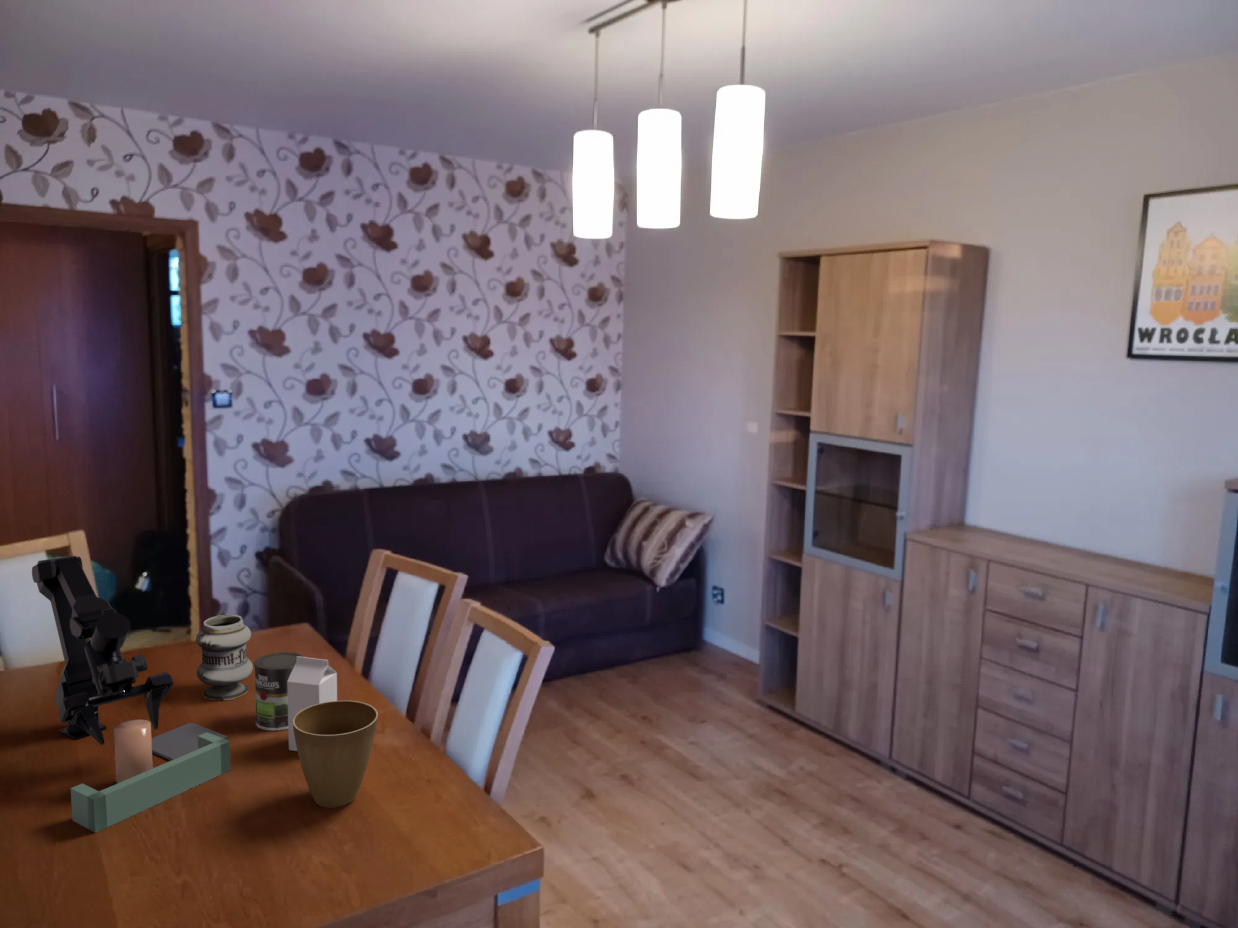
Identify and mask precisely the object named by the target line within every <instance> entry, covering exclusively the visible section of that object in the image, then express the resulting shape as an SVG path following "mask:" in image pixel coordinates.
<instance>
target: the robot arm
mask: <svg viewBox="0 0 1238 928" xmlns="http://www.w3.org/2000/svg"><path fill="white" fill-rule="evenodd" d="M31 576H32V577H31V578H32V580H33V583H36V584H37V585H36V586H37V589H38V592H39V593H40V594H41V595H42V596H43V597H45V598H46V599H47V600H48V601H49V602H50V604H51V608H52V612H53V617H54V621H55V626H56V630H57V635H58V638H59V644H60V647H61V652H62V655H63V659H64V664H65V665H64V667H63V669H62V671H61V674H60V677H59V683H58V686H57V688H56V691H55V693H54V699H55V705H56V706H57V708H58V717H59V720H60V723H64V724H66V727H63V728H61V729H59V732H60V733H61V734H63V735H65V736H68V737H69V738H72V739H74V740H79V739H81V738H83V737H86V736H89V735H90V736H91V737H92V738H93V739H94V740H95V741H96V742H97V743H98V744H99V745H100V746H104V745H105V743H106V742H105V737H104V734H103V730H105V729H107V727H108V726H107V725H106V724H103V723H101V722H100V714H99V713H100V712H99V706H104V705H107V704H108V705H109V704H112V703H116V702H120V701H122V700H123V701H124V700H127V699H130V698H131V699H132V698H135V697H138V696H139V697H140V696H142V695H144V698H145V699H146V702H145V707H146V710H147V712H148V717H149V720H150V723H151V727H153V730H154V731H156V730H158V728H159V720H160V719H159V718H160V717H159V715H160V704H161V702H162V701H163V699H164V698H165V697H166V696H168V695H169V693H170V691H171V689H172V687H173V685H174V684H175V682H174V678H173V676H172V675H171V674H170V673H168V672H160V673H158V674H154V675H149V676H148V677H147V678H146V681H145V683H143V684H139V685H136V686H133V684H135V683H136V682H137V679H136V678H137V677H140V675H139V673H141V672H145V671H147V670H148V663H147V659H146V656H145V654H144V653H143V654H137V655H134V656H132V657H131V659H130V660H129V661H128V660H127V659H126V658H124V657H123V653H122V650H121V649H122V648H123V647H124V644H125V642H126V640H127V637H128V635H129V632H130V631H131V627H132V625H131V620H130V619H129V618H128V617H127V616H125V614H122V613H120V612H119V613H118V612H117V611H116V610H115V608H114V607H112V606H111V604H110V603H109V601H107V600H106V599H103V598H100V597H98V596H97V594H96V592H95V591H94V588H93V586H92V585H91V583H90V581H89V577H88V576H87V575H86V573H85V570H84V567H83V560H82V558H81V556H77V555H72V556H71V555H70V556H63V557H56V558H50V559H41V560H38V561H37V564H35V565H34V566H32V567H31ZM86 639H90V640H89V641H88V642H87V640H86Z"/></svg>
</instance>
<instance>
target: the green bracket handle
mask: <svg viewBox="0 0 1238 928" xmlns="http://www.w3.org/2000/svg"><path fill="white" fill-rule="evenodd" d="M230 743H231V742H230V740H228V739H226V740H225V739H223V738H220V737H218V736H215V735H213V734H210V733H208V732H206V733H204V734H201V735H199V736H198V749H197V750H195V751H193V752H190V753H188V754H186V755H183V756H181V757H179V758H176V759H174V760H172V761H170V760H168V761H167V762H165V763H162V764H160V765H158V766H156V767H153V769H151V770H148V771H146V772H143V773H141V774H139V775H136V776H134V777H132V778H129V779H127V780H125V781H122V782H120V783H118V784H117V783H116V784H114V785H111V786H108V787H107V788H104V789H101V790H99V791H98V790H96V789H95V788H93V787H91V786H89V785H88V784H87V785H86V784H85V783H80V784H77V785H75V786H73V787H70V799H71V802H70V803H71V817H72V820H71V821H73V822H74V823H76V824H77V825H80V826H82V827H84V828H86V829H88V830H89V831H90V832H93V833H95V834H97V833H99V832H100V831H103V830H104V829H107V828H110V827H111V826H113V825H115V824H117V823H118V824H119V823H120V822H122V821H124V820H126V819H129V818H130V817H134V816H135V815H138V814H139V813H142V812H143V811H146V810H148V809H150V808H152V807H155V806H156V805H159V804H160V803H162V802H165V801H167V800H169V799H172V798H173V797H176V796H178V795H180V794H182V793H184V792H186V791H189V790H191V789H194V788H195V787H197V786H199V784H200V785H202V784H204V783H206V782H208V781H210V780H213V779H215V778H216V777H217V778H218V777H219V776H220V775H223V774H225V773H228V772H229V771H231V744H230ZM190 788H191V789H190Z"/></svg>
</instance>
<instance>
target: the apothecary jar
mask: <svg viewBox="0 0 1238 928" xmlns="http://www.w3.org/2000/svg"><path fill="white" fill-rule="evenodd" d="M251 637H252V631H251V629H250V628H249V627H248V626H247V625H246V624H244V619H243V617H242V616H241V615H237V614H220V615H216V616H212V617H209V618H207V619H206V620H204V621H203V626H202V629H201V630H199V632H198V633H197V634H196V637H195V638H196V639H195V641H196V644H197V645H198V647H199V648H201V653H202V654H201V655H202V656H201V658H202V659H201V663H200V665H198V668H197V669H196V676H197V678H198V680H199V681H201V682H202V683H203V684H205V685H208V686H209V687H207V688H205V690H203V692H202V697H203V698H204V699H206V700H208V701H212V702H213V701H214V702H215V701H231V700H235V699H238V698H241V697H243V696H245V695H246V694H247V693H248V692H249V687H248V686H247V685H246V684H243V683H241V682H242V681H245V679H247V678H248V677H249V676H251V674H252V672H253V670H254V666H253V665H254V663H253V662H252V661H251V660H250V659H249V658H248V655H247V642H248V641H250V639H251Z"/></svg>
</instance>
